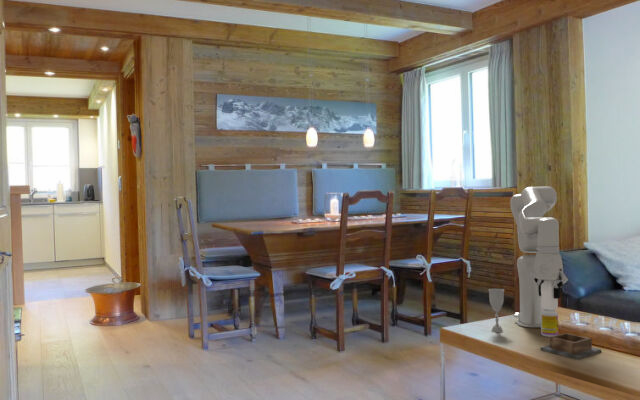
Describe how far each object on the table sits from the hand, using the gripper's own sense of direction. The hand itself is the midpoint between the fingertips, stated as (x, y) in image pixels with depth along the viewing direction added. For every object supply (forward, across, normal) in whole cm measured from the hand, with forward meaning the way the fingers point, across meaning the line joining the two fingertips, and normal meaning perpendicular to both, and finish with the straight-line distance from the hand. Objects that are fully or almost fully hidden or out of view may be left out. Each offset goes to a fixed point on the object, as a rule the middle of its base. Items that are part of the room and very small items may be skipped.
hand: (549, 296), depth 208 cm
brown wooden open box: (+20, +7, +2) cm, 21 cm away
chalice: (+20, -29, +3) cm, 35 cm away
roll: (+5, 0, 0) cm, 5 cm away
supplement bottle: (+20, -11, +15) cm, 27 cm away
